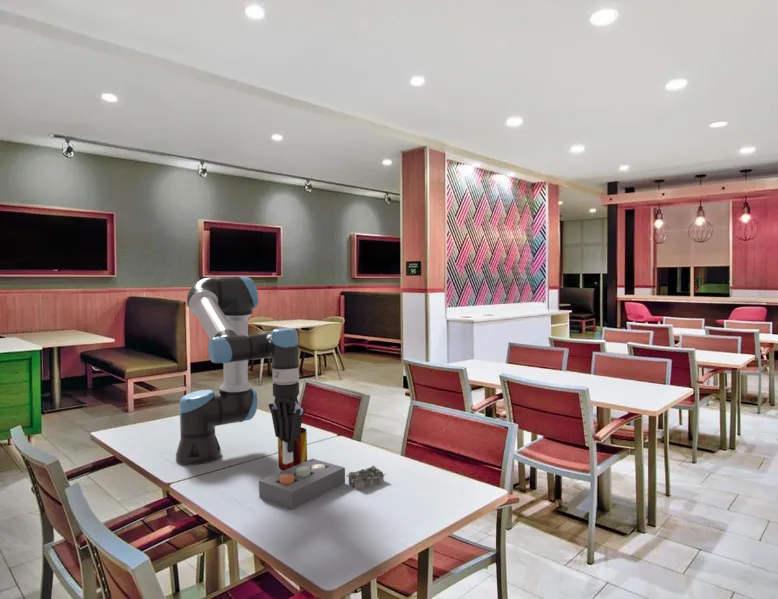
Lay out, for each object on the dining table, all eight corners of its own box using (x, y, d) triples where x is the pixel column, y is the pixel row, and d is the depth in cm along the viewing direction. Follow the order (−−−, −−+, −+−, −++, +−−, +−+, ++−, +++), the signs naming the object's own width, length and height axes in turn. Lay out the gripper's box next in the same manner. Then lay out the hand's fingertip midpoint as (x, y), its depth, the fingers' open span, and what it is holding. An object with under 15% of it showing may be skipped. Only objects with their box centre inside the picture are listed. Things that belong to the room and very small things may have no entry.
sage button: (293, 480, 157) (293, 469, 157) (303, 475, 161) (303, 465, 161) (303, 483, 155) (302, 472, 155) (313, 478, 158) (313, 468, 158)
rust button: (276, 487, 152) (276, 476, 152) (287, 482, 155) (287, 472, 155) (286, 490, 150) (286, 479, 149) (297, 485, 153) (297, 475, 153)
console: (259, 497, 153) (258, 480, 153) (312, 473, 171) (312, 458, 171) (292, 509, 145) (292, 491, 145) (345, 483, 163) (344, 467, 162)
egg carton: (356, 492, 157) (356, 478, 157) (345, 483, 163) (344, 470, 163) (387, 483, 162) (386, 470, 162) (374, 475, 169) (374, 463, 169)
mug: (291, 477, 168) (290, 440, 168) (273, 464, 180) (273, 430, 179) (318, 470, 174) (317, 434, 173) (299, 458, 185) (298, 425, 185)
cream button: (308, 477, 163) (308, 467, 162) (318, 473, 166) (318, 463, 166) (318, 480, 160) (318, 469, 160) (328, 475, 163) (327, 465, 163)
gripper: (260, 381, 152) (262, 461, 153) (292, 386, 145) (294, 471, 146) (280, 377, 158) (282, 454, 159) (311, 382, 151) (313, 462, 152)
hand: (288, 462), depth 153 cm, fingers closed
